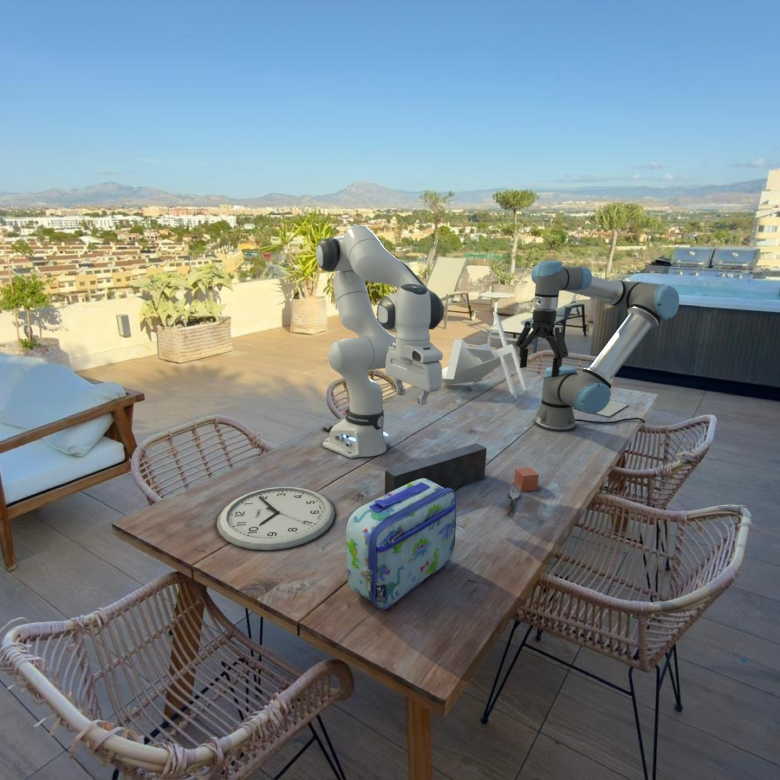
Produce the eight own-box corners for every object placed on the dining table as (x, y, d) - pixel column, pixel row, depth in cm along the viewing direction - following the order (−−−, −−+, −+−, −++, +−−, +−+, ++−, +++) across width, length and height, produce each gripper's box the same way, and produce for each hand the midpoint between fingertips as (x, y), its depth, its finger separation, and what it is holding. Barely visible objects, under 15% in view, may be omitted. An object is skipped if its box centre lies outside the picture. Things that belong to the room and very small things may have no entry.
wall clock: (333, 542, 123) (202, 546, 121) (333, 547, 124) (203, 552, 121) (335, 482, 152) (229, 485, 149) (335, 487, 152) (230, 490, 150)
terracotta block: (529, 482, 158) (530, 467, 156) (537, 490, 153) (538, 474, 152) (513, 483, 157) (515, 468, 155) (521, 491, 152) (523, 476, 151)
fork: (503, 516, 138) (503, 510, 138) (511, 489, 153) (511, 483, 152) (513, 518, 137) (513, 511, 137) (520, 491, 152) (520, 485, 151)
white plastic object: (461, 429, 252) (437, 405, 227) (444, 352, 274) (420, 323, 250) (535, 404, 240) (518, 377, 215) (510, 326, 262) (492, 293, 237)
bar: (474, 472, 163) (476, 443, 160) (484, 478, 160) (486, 448, 157) (384, 502, 145) (385, 469, 142) (393, 509, 141) (394, 476, 138)
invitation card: (608, 416, 214) (573, 407, 224) (608, 416, 214) (573, 408, 224) (628, 404, 229) (594, 396, 238) (628, 405, 229) (594, 397, 238)
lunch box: (375, 622, 100) (376, 527, 94) (339, 595, 108) (338, 505, 101) (459, 565, 118) (465, 481, 112) (424, 545, 125) (427, 465, 119)
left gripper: (380, 342, 142) (379, 391, 146) (427, 358, 126) (425, 412, 130) (398, 340, 145) (397, 387, 149) (447, 354, 129) (444, 407, 133)
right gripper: (508, 305, 179) (503, 365, 185) (569, 315, 159) (561, 382, 166) (523, 303, 183) (518, 362, 189) (584, 313, 164) (576, 378, 170)
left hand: (410, 399), depth 140 cm, fingers open, 8 cm apart
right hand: (538, 371), depth 178 cm, fingers open, 13 cm apart
